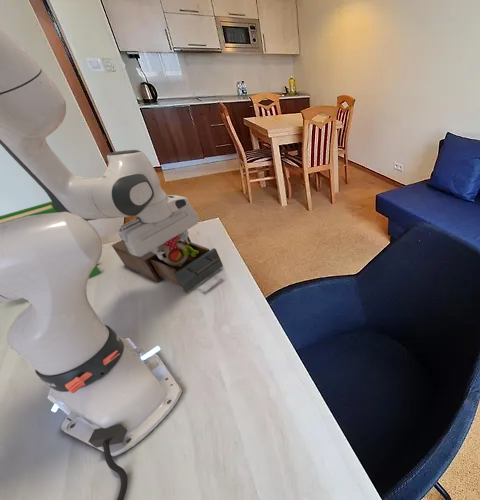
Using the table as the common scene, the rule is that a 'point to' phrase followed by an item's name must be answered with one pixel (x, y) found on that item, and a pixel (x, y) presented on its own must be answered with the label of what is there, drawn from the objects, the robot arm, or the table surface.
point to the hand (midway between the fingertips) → (175, 251)
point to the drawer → (189, 268)
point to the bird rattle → (177, 252)
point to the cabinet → (140, 259)
